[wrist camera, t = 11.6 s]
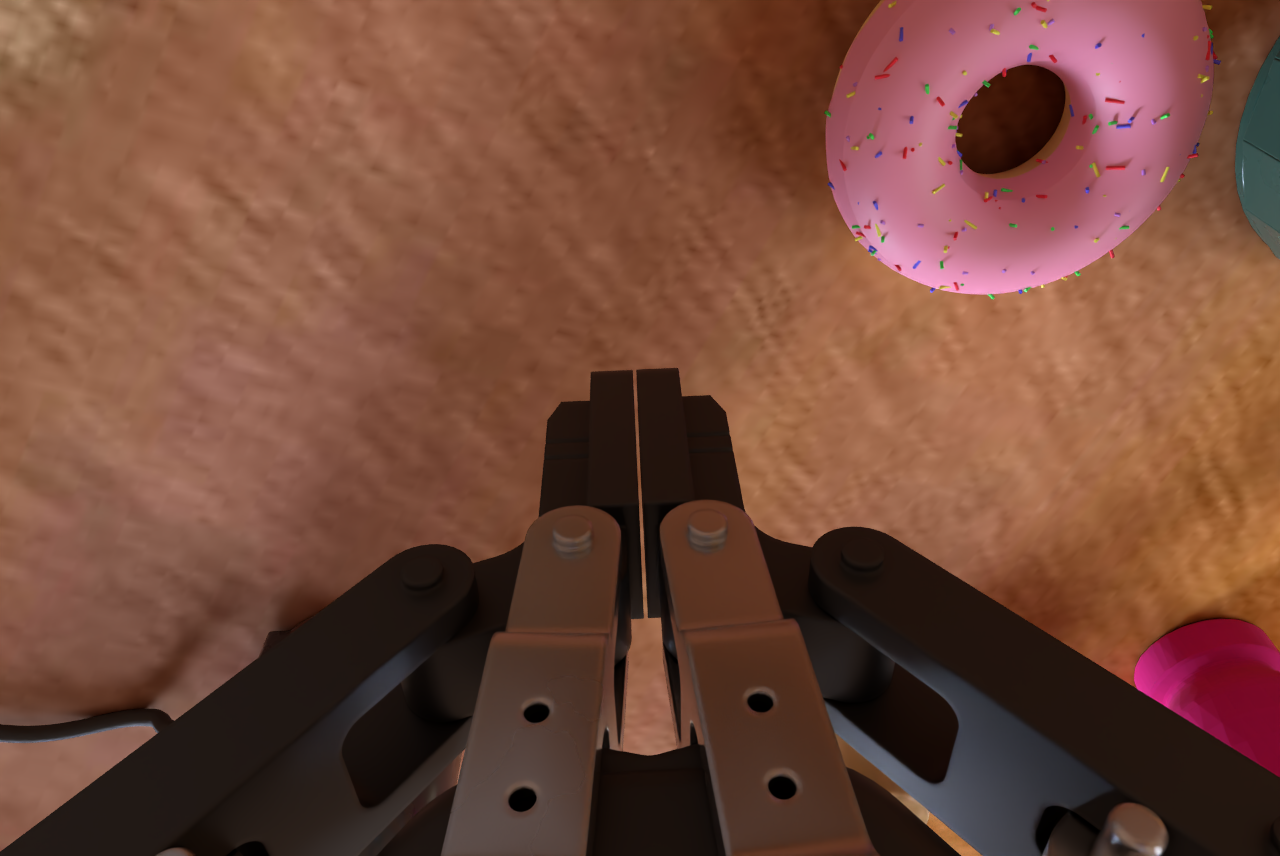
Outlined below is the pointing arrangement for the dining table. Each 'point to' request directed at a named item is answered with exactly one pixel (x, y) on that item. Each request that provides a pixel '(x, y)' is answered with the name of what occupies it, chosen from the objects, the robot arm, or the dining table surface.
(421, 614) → the robot arm
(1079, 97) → the doughnut
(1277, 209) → the pot
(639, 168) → the dining table surface
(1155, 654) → the pepper mill
